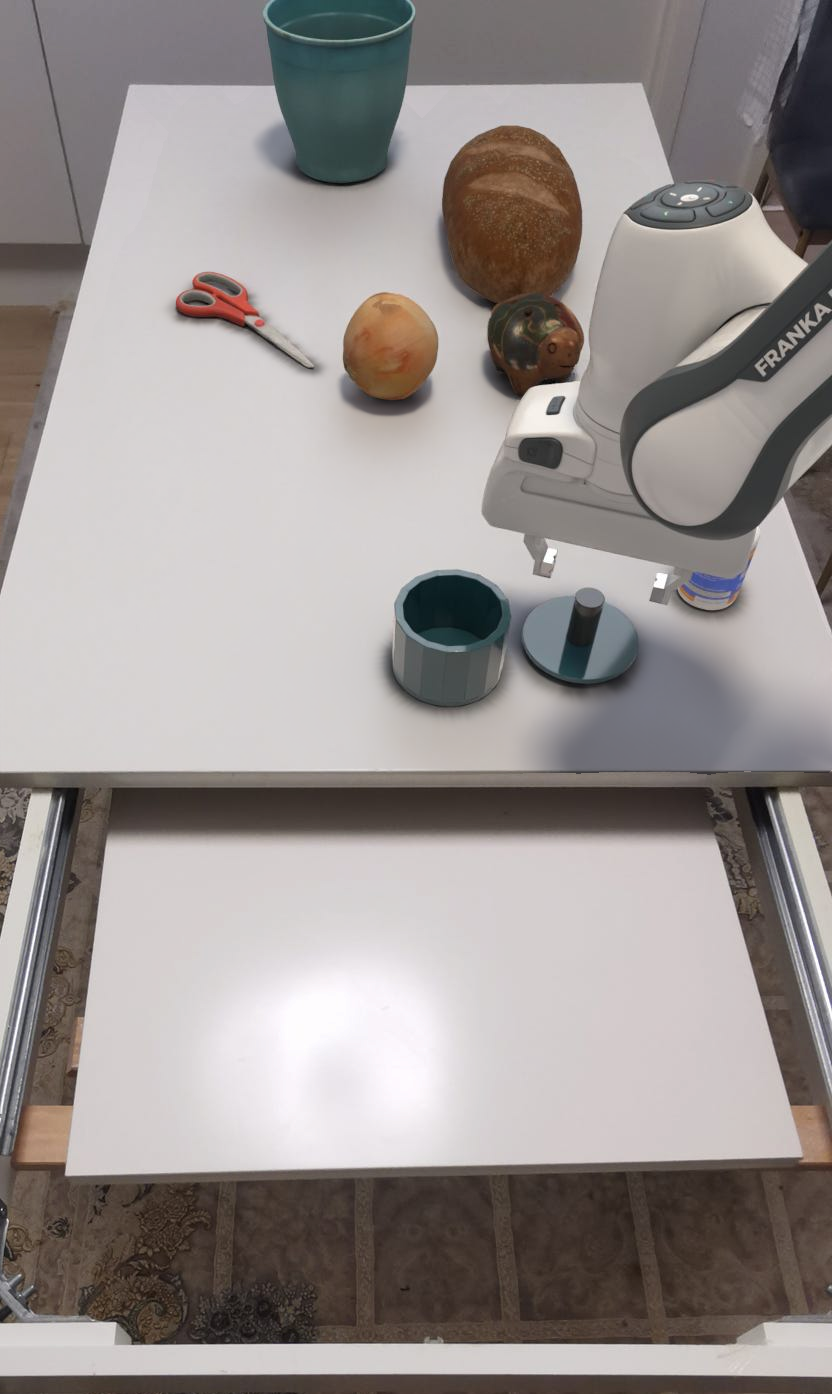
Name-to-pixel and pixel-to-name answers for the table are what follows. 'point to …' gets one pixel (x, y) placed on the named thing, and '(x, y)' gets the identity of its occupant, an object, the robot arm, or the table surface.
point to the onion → (390, 346)
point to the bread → (512, 214)
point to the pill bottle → (714, 587)
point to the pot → (449, 637)
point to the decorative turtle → (534, 340)
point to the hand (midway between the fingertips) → (600, 585)
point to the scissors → (232, 309)
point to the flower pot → (340, 80)
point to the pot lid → (580, 638)
